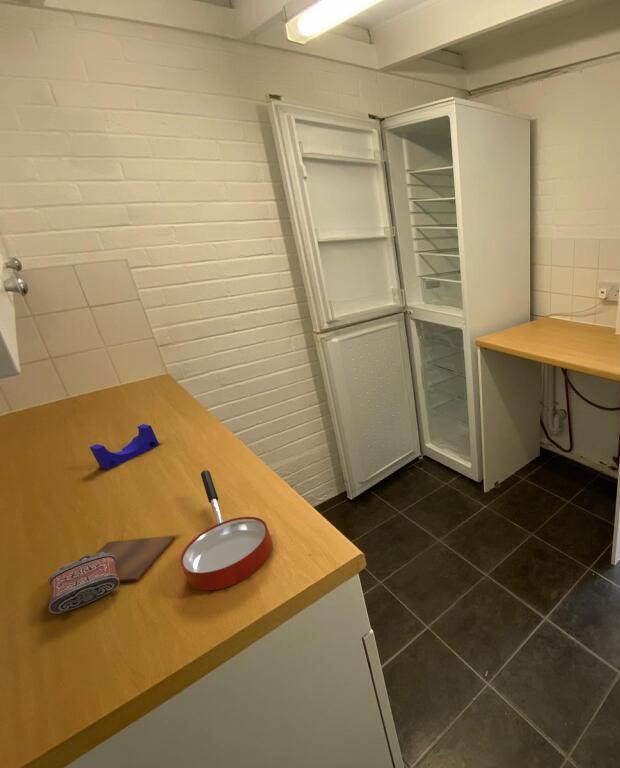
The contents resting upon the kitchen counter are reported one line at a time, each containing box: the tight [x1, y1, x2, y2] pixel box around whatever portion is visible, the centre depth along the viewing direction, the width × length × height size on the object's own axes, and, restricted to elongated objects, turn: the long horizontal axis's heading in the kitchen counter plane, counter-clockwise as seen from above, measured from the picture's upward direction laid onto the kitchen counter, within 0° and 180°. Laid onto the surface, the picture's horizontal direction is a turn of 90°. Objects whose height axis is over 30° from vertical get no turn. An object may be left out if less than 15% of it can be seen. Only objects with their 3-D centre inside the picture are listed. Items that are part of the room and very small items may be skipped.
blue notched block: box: [89, 423, 160, 471], centre depth 108 cm, size 12×4×6 cm, turn 159°
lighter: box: [48, 552, 120, 614], centre depth 70 cm, size 8×3×10 cm
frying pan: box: [179, 469, 274, 591], centre depth 80 cm, size 32×13×6 cm, turn 46°
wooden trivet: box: [95, 535, 176, 584], centre depth 75 cm, size 12×10×1 cm
